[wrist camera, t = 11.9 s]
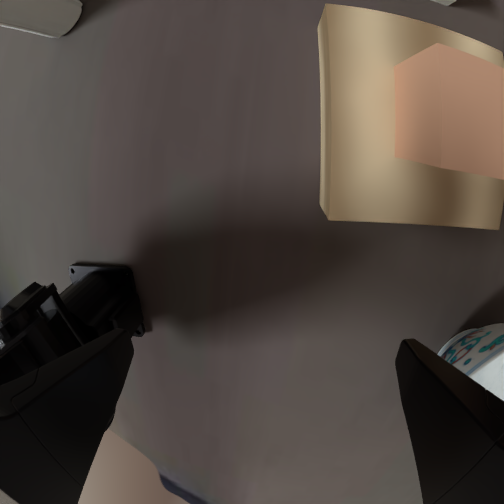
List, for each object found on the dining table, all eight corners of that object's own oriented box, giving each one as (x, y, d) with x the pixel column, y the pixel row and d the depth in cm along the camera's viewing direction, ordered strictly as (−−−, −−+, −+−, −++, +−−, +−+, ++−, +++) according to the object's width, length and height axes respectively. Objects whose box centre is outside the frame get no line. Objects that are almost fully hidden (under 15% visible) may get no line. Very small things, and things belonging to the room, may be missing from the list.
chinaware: (398, 422, 27) (413, 476, 19) (384, 328, 22) (413, 397, 15) (505, 371, 23) (531, 413, 16) (519, 265, 19) (569, 305, 12)
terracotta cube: (394, 157, 14) (440, 167, 9) (393, 66, 12) (437, 42, 7) (467, 168, 13) (522, 184, 9) (468, 85, 11) (522, 77, 7)
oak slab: (319, 204, 19) (328, 220, 15) (317, 27, 15) (325, 3, 11) (468, 213, 18) (498, 230, 14) (471, 60, 14) (502, 52, 10)
